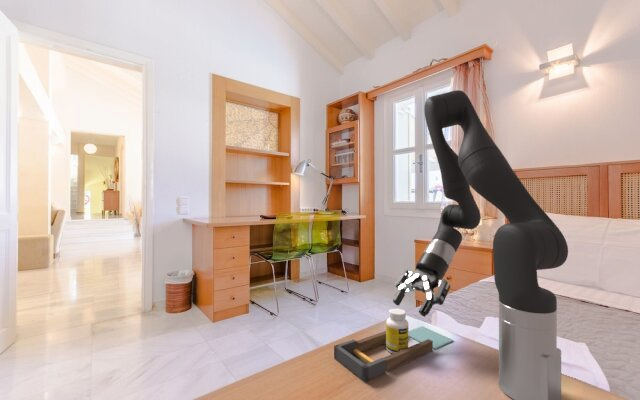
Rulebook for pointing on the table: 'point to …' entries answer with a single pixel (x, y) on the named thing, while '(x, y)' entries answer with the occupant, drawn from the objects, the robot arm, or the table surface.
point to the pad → (429, 336)
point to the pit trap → (359, 361)
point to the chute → (398, 357)
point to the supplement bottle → (396, 331)
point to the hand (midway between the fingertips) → (407, 308)
